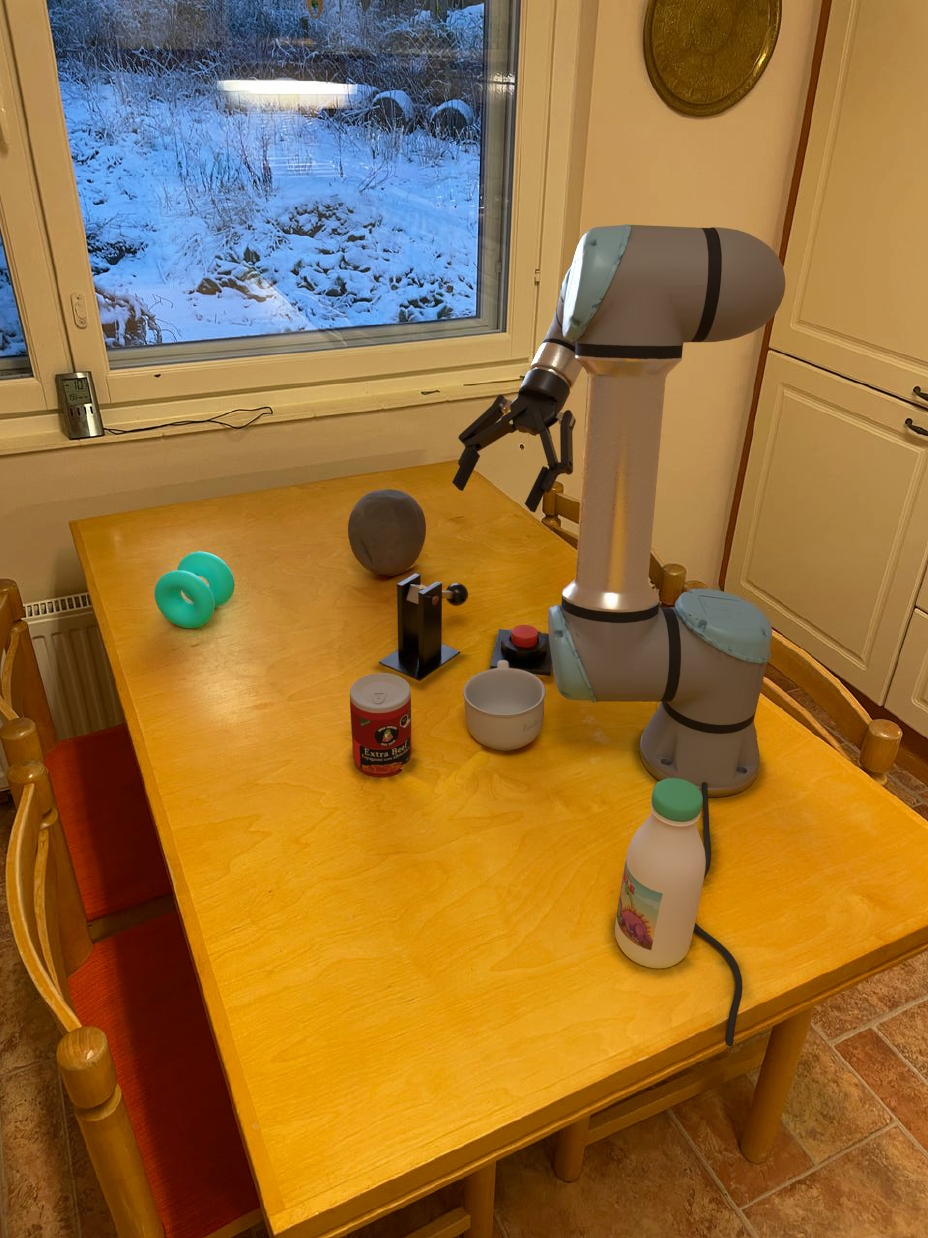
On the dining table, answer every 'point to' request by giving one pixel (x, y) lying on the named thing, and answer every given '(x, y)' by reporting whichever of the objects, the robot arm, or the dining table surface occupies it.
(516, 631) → the button
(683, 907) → the milk bottle
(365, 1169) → the dining table surface
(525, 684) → the teacup
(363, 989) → the dining table surface
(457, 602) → the lever
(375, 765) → the canned food
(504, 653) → the black button base
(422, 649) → the black lever stand
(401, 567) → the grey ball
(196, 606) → the teal spool
